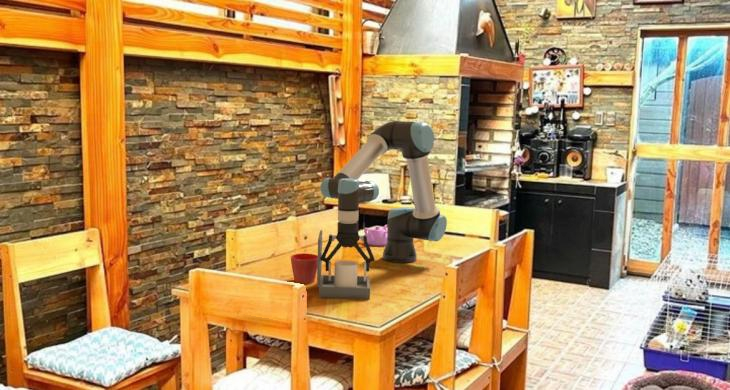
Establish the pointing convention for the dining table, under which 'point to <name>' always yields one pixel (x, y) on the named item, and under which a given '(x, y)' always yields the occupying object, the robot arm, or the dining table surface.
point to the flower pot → (304, 267)
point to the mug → (345, 273)
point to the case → (339, 292)
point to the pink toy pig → (376, 236)
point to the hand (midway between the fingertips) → (347, 280)
